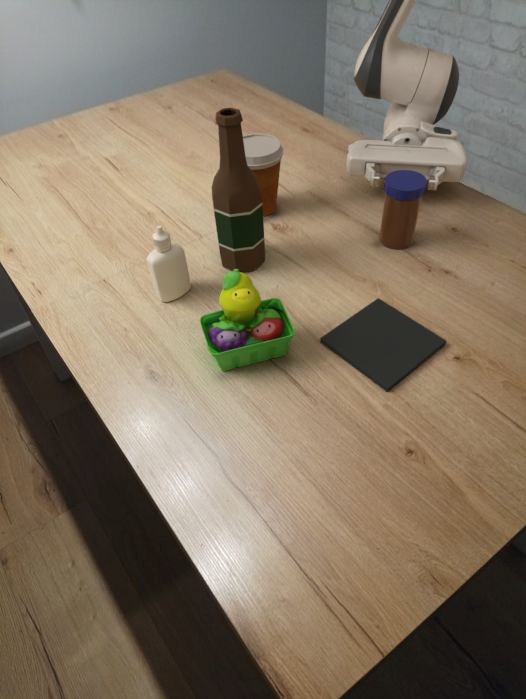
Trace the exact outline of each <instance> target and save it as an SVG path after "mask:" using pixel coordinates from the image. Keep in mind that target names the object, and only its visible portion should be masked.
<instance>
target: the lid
mask: <svg viewBox="0 0 526 699" xmlns="http://www.w3.org/2000/svg"><path fill="white" fill-rule="evenodd" d="M427 184H428V180H427V179H426V178H425V176H423V175H422V174H420V173H418V172H415V171H411V170H397V171H393V172H391V173H389V174H388V175H387V176H386V177H385V178H384V182H383V187H382V188H383V192H384V194H385V193H386V194H387V195H388V196H389V197H391V198H393V199H397V200H402V201H410V200H416V199H418V198H420V197H422V198H423V196H424V195H425V193H426V190H427Z"/></svg>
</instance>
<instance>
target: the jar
mask: <svg viewBox="0 0 526 699" xmlns="http://www.w3.org/2000/svg"><path fill="white" fill-rule="evenodd" d="M422 198H423V196H422V197H420V198H418V199H416V200H410V201H402V200H397V199H393V198H391V197H389V196H388V195H387V194H386V193H385V192H384V199H383V205H382V213H381V221H380V228H379V236H378V240H379V243H380V244H381V245H382V246H384V247H385V248H388V249H391V250H403V249H407V248H410V247H411V245H413V243H414V238H415V234H416V228H417V223H418V217H419V213H420V209H421V204H422Z"/></svg>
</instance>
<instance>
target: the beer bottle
mask: <svg viewBox="0 0 526 699" xmlns="http://www.w3.org/2000/svg"><path fill="white" fill-rule="evenodd" d="M214 120H215V124H216V125H217V127H218V130H217V131H218V144H219V145H218V147H219V166H218V167H219V168H218V169H217V172H216V173H215V174H214V176H213V180H212V183H211V184H212V185H211V199H212V200H211V201H212V206H213V213H214V222H215V226H216V227H215V228H216V235H217V243H218V250H219V255H220V261H221V266H222V267H223V268H225V269H227V270H229V271H230V272H234V269H239V272H242V273H247V272H254V271H256V270H257V269H258V268H259V267H260V266H261V265H262V264H263V263H264V262H265V261H266V242H265V226H264V225H265V224H264V216H263V206H262V197H261V191H260V187H259V184H258V181H257V178H256V176H255V174H254V172H253V171H252V170H251V169H250V168H249V166H248V165H247V162H246V156H245V149H244V142H243V135H244V134H243V128H242V122H243V121H244V119H243V115H242V113H241V109H239V108H234V107H225V108H221V109H219V110H217V111H216V112H215V119H214Z"/></svg>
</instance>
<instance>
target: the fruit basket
mask: <svg viewBox="0 0 526 699" xmlns="http://www.w3.org/2000/svg"><path fill="white" fill-rule="evenodd" d="M218 303H219V306H220V307H221V310H218V311H213V312H209V313H206V314H203V315H201V316H200V317H199V324H200V326H201V329H202V333H203V336H204V340H205V343H206V346H207V350H208V352H209V354H210V355H211V356H212V357H213V358H214V360H215V361H216V363H217V365H218V367H219V369H220V371H222V372H226V371H230V370H234V369H235V368H242V367H247V366H250V365H252V364H254V363H261V362H266V361H269V360H271V359H276V358H281V357H284V356H286V354H287V352H288V350H289V347H290V344H291V341H292V339H293V338H294V336H295V334H296V329H295V327H294V325H293V323H292V320H291V318H290V316H289V314H288V312H287V311H286V308H285V305H284V304H283V302H282V300H281V299H280V298H278V297H271V298H268V299H263V300H262V297H261V294H260V293H259V290H258V288H256V287H255V285H254V284H253V281H252V279H251V277H250V276H249V275H248V274H246V273H245V272H239V269H234V272H233V271H228V272H227V273H225V275H224V277H223V282H222V290H221V291H220V294H219V299H218Z"/></svg>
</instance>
